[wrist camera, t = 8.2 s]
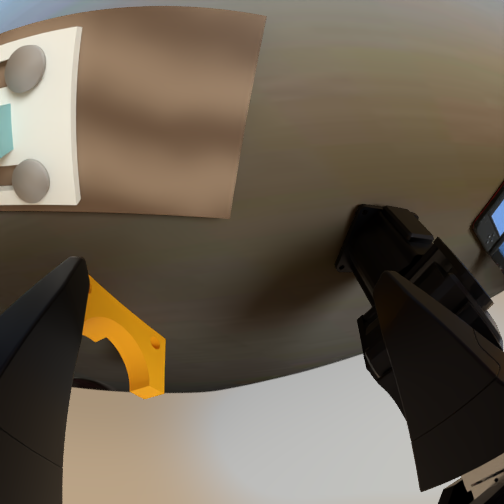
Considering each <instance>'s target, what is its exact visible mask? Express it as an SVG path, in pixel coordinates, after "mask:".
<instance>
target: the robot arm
mask: <svg viewBox="0 0 504 504" xmlns="http://www.w3.org/2000/svg"><path fill="white" fill-rule="evenodd" d="M363 210H365V211H364V212H363ZM362 212H363V213H362ZM433 240H434V238H433V235H432V234H431V233H430V232H429V231H428V230H427V229H426V228H425V227H424V226H423V225H422V224H421V222H420V221H419V220H418V216H417V215H416V214H415V213H413V212H410V211H409V210H407V209H403V208H398V207H392V206H384V207H378V206H372V205H366V204H362V205H360V206H359V207H358V209H357V212H356V214H355V217H354V219H353V222H352V225H351V227H350V230H349V232H348V235H347V237H346V240H345V242H344V245H343V247H342V249H341V252H340V254H339V257H338V259H337V261H336V264H335V268H336V270H337V271H338V272H353V273H354V275H355V277H356V279H357V280H358V282H359V284H360V286H361V288H362V289H363V291H364V293H365V295H366V297H367V298H368V300H369V302H370V304H371V306H372V308H371V309H370V310H369V311H368V312H366V313H365V314H364V315H362V316H361V317H359V318H358V319H357V323H358V328H359V333H360V338H361V344H362V349H363V355H364V359H365V364H366V368H367V370H368V371H369V372H370V373H371V375H372V376H373V378H374V379H375V380H376V381H377V382H378V384H379V385H381V387H383V388H384V389H385V390H386V391H387V392H388V393H389V394H390V396H391V397H392V398H393V400H394V401H395V402H396V404H397V405H398V407H399V409H400V411H401V412H402V414H403V416H404V417H405V419H406V421H407V425H408V429H409V433H410V438H411V441H412V442H411V443H412V449H413V454H414V459H415V464H416V470H417V475H418V481H419V488H420V491H421V492H423V491H426V490H428V489H431V488H433V487H436V486H439V485H441V484H443V483H446V482H448V481H451V480H453V479H455V478H457V477H459V476H461V478H460V479H459V480H457V481H456V482H454V483H453V484H451V485H449V486H448V487H447V488H445V489H443V492H442V494H441V497H440V500H439V502H438V504H504V352H503V341H502V337H501V335H500V332H499V330H498V327H497V325H496V323H495V321H494V320H493V318H492V317H491V316H490V314H489V313H488V311H487V309H489V308H490V307H491V306H492V305H493V301H492V300H491V299H490V297H489V296H488V295H487V293H486V292H485V291H484V289H483V288H482V287H481V285H480V284H479V283H478V282H477V280H476V279H475V278H474V277H473V275H472V274H471V273H470V272H469V270H468V269H467V268H466V267H465V266H464V265H463V263H462V262H461V261H460V260H459V259H458V258H457V257H456V255H455V254H454V253H453V252H452V251H451V250H450V249H449V248H448V247H447V246H446V245H445V244H444V242H443V241H442V240H441V239H440V238H439V237H437V238H436V239H435V241H434V242H433ZM432 242H433V243H434V244H433V243H432ZM341 265H342V266H341ZM340 266H341V267H340ZM89 289H90V280H89V275H88V271H87V266H86V262H85V259H84V258H83V257H75V256H71V257H69V258H68V259H66V260H65V261H64V262H62V263H61V264H60V265H59V266H57V267H56V268H55V269H54V270H52V271H51V272H50V273H49V274H47V275H46V276H45V277H44V278H42V279H41V280H40V281H39V282H38V283H36V284H35V285H34V286H33V287H32V288H31V289H29V290H28V291H27V292H26V293H25V294H24V295H22V296H21V297H20V298H19V299H18V300H17V301H16V302H15V303H13V304H12V305H11V306H10V307H9V308H8V309H7V310H6V311H5V312H4V313H2V314H1V315H0V504H62V477H63V476H62V475H63V468H62V467H63V453H64V452H63V451H64V441H65V430H66V422H67V414H68V406H69V400H70V393H71V387H72V382H73V376H74V371H75V366H76V361H77V356H78V352H79V347H80V343H81V338H82V333H83V326H84V319H85V313H86V306H87V300H88V294H89Z"/></svg>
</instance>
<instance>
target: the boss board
mask: <svg viewBox="0 0 504 504" xmlns="http://www.w3.org/2000/svg"><path fill="white" fill-rule="evenodd" d="M266 17H267V16H262V15H257V14H251V13H245V12H238V11H231V10H222V9H213V8H201V7H182V6H143V7H125V8H113V9H104V10H96V11H89V12H82V13H76V14H71V15H66V16H61V17H56V18H52V19H48V20H44V21H40V22H36V23H32V24H29V25H25V26H22V27H19V28H16V29H13V30H10V31H7V32H4V33H1V34H0V45H3V44H6V43H9V42H12V41H16V40H19V39H23V38H26V37H30V36H34V35H38V34H42V33H46V32H50V31H55V30H60V29H65V28H71V27H82V34H81V42H80V51H79V61H78V73H77V92H76V144H77V163H78V176H79V187H80V196H81V200H80V201H79V203H78V204H77V205H0V211H72V212H109V213H135V214H158V215H177V216H195V217H211V218H227V219H230V213H231V207H232V201H233V195H234V188H235V182H236V176H237V170H238V164H239V159H240V153H241V147H242V141H243V136H244V130H245V124H246V119H247V113H248V108H249V102H250V97H251V92H252V87H253V81H254V76H255V71H256V66H257V61H258V56H259V51H260V46H261V41H262V36H263V31H264V27H265V22H266ZM45 69H46V56H45V53H44V51H43V50H42V49H41V48H40V47H39V46H37V45H25V46H22V47H20V48H18V49H17V50H15V51H14V52H13V53H12V55H11V56H10V58H9V59H8V60H6V61H3V62H0V88H3V87H7V86H8V88H9V89H10V90H11V91H13V92H15V93H22V92H26V91H29V90H31V89H33V88H34V87H35V86H36V85H37V84H38V83H39V82H40V80H41V79H42V77H43V75H44V72H45ZM11 185H13V188H14V191H15V193H16V194H17V196H18V197H19V198H20V199H21V200H23V201H25V202H27V203H37V202H39V201H40V200H41V199H42V198H43V197H44V196H45V195H46V194H47V192H48V190H49V186H50V178H49V174H48V171H47V170H46V168H45V166H44V165H43V164H42V163H41V162H39V161H38V160H35V159H26V160H24V161H22V162H21V163H20V164H18V165H11V166H0V186H11Z"/></svg>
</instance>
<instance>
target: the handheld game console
mask: <svg viewBox="0 0 504 504" xmlns="http://www.w3.org/2000/svg"><path fill="white" fill-rule="evenodd" d="M473 230H474V232H475V234H476V235H477V237H478V239H479V240H480V242H481V244H482V246H483V247H484V249H485V251H486V252H487V253H488V254H489V255H490V256H492V257H491V258H492V259H493V261H494V262H495V263H496V264H497V265H498V267H499V269H500V270H501V271H502V272H503V274H504V182H503V184H502V185H501V186H500V188H499V189H498V191H497V192H496V193H495V195H494V196H493V197H492V199H491V200H490V201H489V203H488V204H487V205H486V207H485V208H484V209H483V210H482V212H481V213H480V214H479V216H478V217H477V218H476V219H475V221H474V223H473Z"/></svg>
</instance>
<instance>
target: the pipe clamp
mask: <svg viewBox="0 0 504 504" xmlns="http://www.w3.org/2000/svg"><path fill="white" fill-rule="evenodd" d="M89 280H90V289H89V294H88V300H87V306H86V313H85V319H84V326H83V333H82V335H85V336H87V337H88V338H90V339H91V340H93V341H94V342H97V341H99V340H101V339H103V338H105V337H107V338H108V339H109V340H110V341H111V342H112V343H113V345H114V346H115V347H116V349H117V350H118V352H119V353H120V355H121V357H122V359H123V361H124V363H125V366H126V369H127V372H128V376H129V383H130V392H131V393H134V394H135V395H137V396H139V397H141V398H143V399H147V398H151V397H154V396H158V395H161V394H164V376H165V345H166V339H165V338H163V337H162V336H161V335H160V334H158V333H157V332H156V331H154V330H153V329H152V328H151V327H149V326H148V325H147V324H145V323H144V322H143V321H142V320H140V319H139V318H138V317H137V316H136V315H134V314H133V313H132V312H131V311H129V310H128V309H127V308H126V307H125V306H123V305H122V304H121V303H120V302H119V301H118V300H116V299H115V298H114V297H113V296H112V295H111V294H110V293H108V292H107V291H106V290H105V289H104V288H103V287H102V286H101V285H99V284H98V283H97V282H96V281H95V280H94V279H93V278H92V277H91V276H90V275H89Z"/></svg>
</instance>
